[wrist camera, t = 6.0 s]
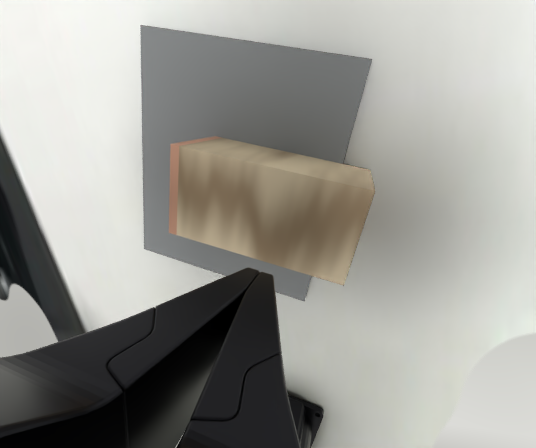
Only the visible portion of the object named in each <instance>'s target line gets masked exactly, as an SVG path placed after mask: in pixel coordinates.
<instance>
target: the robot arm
mask: <svg viewBox="0 0 536 448" xmlns="http://www.w3.org/2000/svg"><path fill="white" fill-rule="evenodd" d="M281 354H282V352H281V343H280V333H279V324H278V314H277V305H276V295H275V286H274V277H273V275H272V274H268V273H265V272H260V271H259V270H256V269H252V268H249V267H247V268H245V269H242V270H240V271H238V272H235V273H233V274H230V275H228V276H226V277H223V278H221V279H219V280H216V281H214V282H212V283H209V284H207V285H205V286H202V287H200V288H198V289H195V290H193V291H191V292H188V293H186V294H184V295H181V296H179V297H176V298H174V299H172V300H169V301H167V302H165V303H162V304H160V305H158V306H156V308H154V307H153V308H150V309H148V310H146V311H143V312H141V313H139V314H136V315H134V316H131V317H129V318H126V319H124V320H121V321H118V322H116V323H113V324H110V325H107V326H104V327H101V328H99V329H96V330H93V331H90V332H87V333H84V334H81V335H78V336H75V337H72V338H69V339H66V340H63V341H60V342H57V343H54V344H51V345H48V346H45V347H42V348H39V349H36V350H33V351H30V352H26V353H23V354H19V355H14V356H9V357H2V358H0V448H175V447H176V445H177V443H178V442H179V440H180V438H181V436H182V435H183V436H182V438H181V440H180V442H179V444H178V446H177V447H176V448H311V446H312V443H313V441H314V438H315V436H316V433H317V431H318V428H319V426H320V423H321V421H322V418H323V413H324V411H323V409H322V408H320V407H318V406H315V405H313V404H310V403H308V402H305V401H302V400H300V399H297V398H295V397H292V396H290V395H288V393H287V389H286V383H285V376H284V369H283V360H282V355H281ZM184 431H185V432H184ZM183 433H184V434H183Z"/></svg>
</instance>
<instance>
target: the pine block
mask: <svg viewBox="0 0 536 448" xmlns="http://www.w3.org/2000/svg"><path fill="white" fill-rule="evenodd" d="M374 194H375V188H374V184H373V179H372V175H371V171H370V170H369V169H364V168H359V167H355V166H350V165H346V164H341V163H336V162H332V161H327V160H323V159H318V158H313V157H309V156H304V155H300V154H295V153H290V152H286V151H281V150H277V149H272V148H267V147H263V146H258V145H254V144H249V143H244V142H240V141H235V140H231V139H226V138H221V137H217V136H214V137H208V138H202V139H196V140H190V141H184V142H179V143H173V144H170V195H169V233H171V234H175V235H178V236H181V237H184V238H188V239H191V240H194V241H198V242H201V243H204V244H208V245H211V246H214V247H218V248H221V249H224V250H228V251H231V252H234V253H237V254H241V255H244V256H247V257H251V258H254V259H257V260H261V261H264V262H267V263H271V264H274V265H277V266H281V267H284V268H287V269H290V270H294V271H297V272H300V273H304V274H307V275H310V276H314V277H317V278H320V279H324V280H327V281H330V282H334V283H337V284H340V285H343V286H344V283H345V280H346V277H347V274H348V271H349V268H350V265H351V262H352V259H353V256H354V253H355V250H356V247H357V244H358V241H359V238H360V235H361V232H362V229H363V226H364V223H365V220H366V217H367V214H368V211H369V208H370V205H371V202H372V199H373V197H374Z"/></svg>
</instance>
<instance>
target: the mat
mask: <svg viewBox="0 0 536 448" xmlns="http://www.w3.org/2000/svg"><path fill="white" fill-rule="evenodd" d="M371 62H372V59H368V58H361V57H354V56H347V55H341V54H334V53H327V52H320V51H314V50H307V49H300V48H293V47H286V46H280V45H273V44H266V43H259V42H253V41H246V40H239V39H232V38H225V37H219V36H212V35H205V34H198V33H192V32H185V31H178V30H171V29H165V28H158V27H151V26H144V25H141V83H142V145H143V206H144V249H146V250H149V251H152V252H155V253H158V254H161V255H164V256H167V257H170V258H173V259H176V260H179V261H182V262H185V263H189V264H192V265H195V266H198V267H201V268H204V269H207V270H210V271H213V272H216V273H219V274H222V275H225V276H228V275H230V274H233V273H235V272H238V271H240V270H242V269H245V268H247V267H249V268H252V269H256V270H259V271H260V272H265V273H268V274H272V275H273V277H274V286H275V292H277V293H280V294H284V295H287V296H290V297H293V298H296V299H299V300H302V301H305V298H306V294H307V290H308V287H309V283H310V280H311V276H310V275H307V274H304V273H300V272H297V271H294V270H290V269H287V268H284V267H281V266H277V265H274V264H271V263H267V262H264V261H261V260H257V259H254V258H251V257H247V256H244V255H241V254H237V253H234V252H231V251H228V250H224V249H221V248H218V247H214V246H211V245H208V244H204V243H201V242H198V241H194V240H191V239H188V238H184V237H181V236H178V235H175V234H171V233H169V195H170V144H173V143H179V142H184V141H190V140H196V139H202V138H208V137H214V136H217V137H221V138H226V139H231V140H235V141H240V142H244V143H249V144H254V145H258V146H263V147H267V148H272V149H277V150H281V151H286V152H290V153H295V154H300V155H304V156H309V157H313V158H318V159H323V160H327V161H332V162H336V163H341V164H343V162H344V158H345V155H346V151H347V147H348V144H349V140H350V137H351V133H352V130H353V126H354V122H355V119H356V115H357V112H358V108H359V104H360V101H361V97H362V94H363V90H364V87H365V83H366V79H367V76H368V72H369V69H370V65H371Z"/></svg>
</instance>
